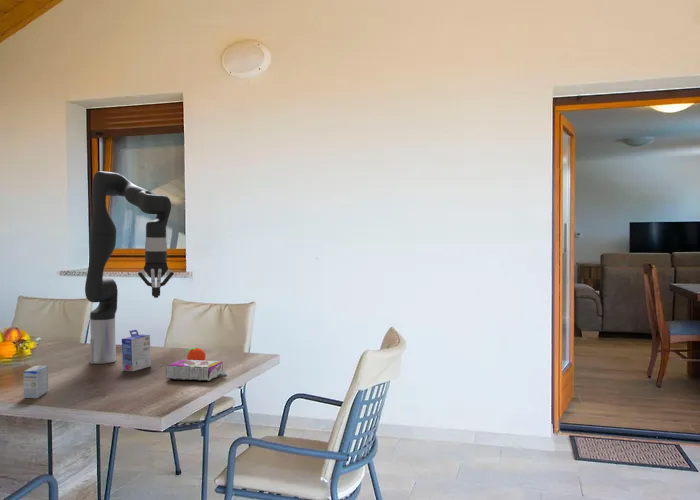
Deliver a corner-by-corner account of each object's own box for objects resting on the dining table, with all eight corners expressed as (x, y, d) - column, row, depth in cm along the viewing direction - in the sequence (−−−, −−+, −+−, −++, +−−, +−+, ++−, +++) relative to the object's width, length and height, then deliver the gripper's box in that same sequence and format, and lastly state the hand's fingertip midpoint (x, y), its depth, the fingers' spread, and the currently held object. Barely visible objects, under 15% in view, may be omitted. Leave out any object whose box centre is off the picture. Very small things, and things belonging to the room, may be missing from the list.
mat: (177, 380, 212) (177, 378, 212) (173, 371, 225) (173, 370, 225) (226, 375, 218) (226, 374, 218) (220, 367, 231) (220, 366, 231)
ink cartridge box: (140, 365, 236) (140, 328, 236) (151, 366, 234) (151, 328, 233) (121, 370, 227) (120, 332, 227) (132, 372, 225) (132, 332, 224)
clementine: (186, 368, 229) (186, 350, 229) (182, 365, 235) (182, 347, 235) (207, 366, 233) (207, 348, 233) (203, 363, 239) (202, 345, 239)
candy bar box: (181, 358, 222) (223, 360, 218) (181, 372, 222) (223, 374, 218) (165, 364, 211) (209, 367, 207) (165, 379, 211) (209, 381, 208)
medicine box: (34, 392, 197) (33, 365, 197) (48, 391, 197) (48, 365, 197) (23, 398, 189) (22, 371, 189) (38, 398, 189) (37, 370, 189)
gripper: (174, 249, 227) (174, 295, 227) (136, 249, 222) (136, 296, 223) (175, 250, 220) (175, 298, 220) (136, 250, 215) (136, 299, 216)
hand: (155, 297), depth 222 cm, fingers closed
